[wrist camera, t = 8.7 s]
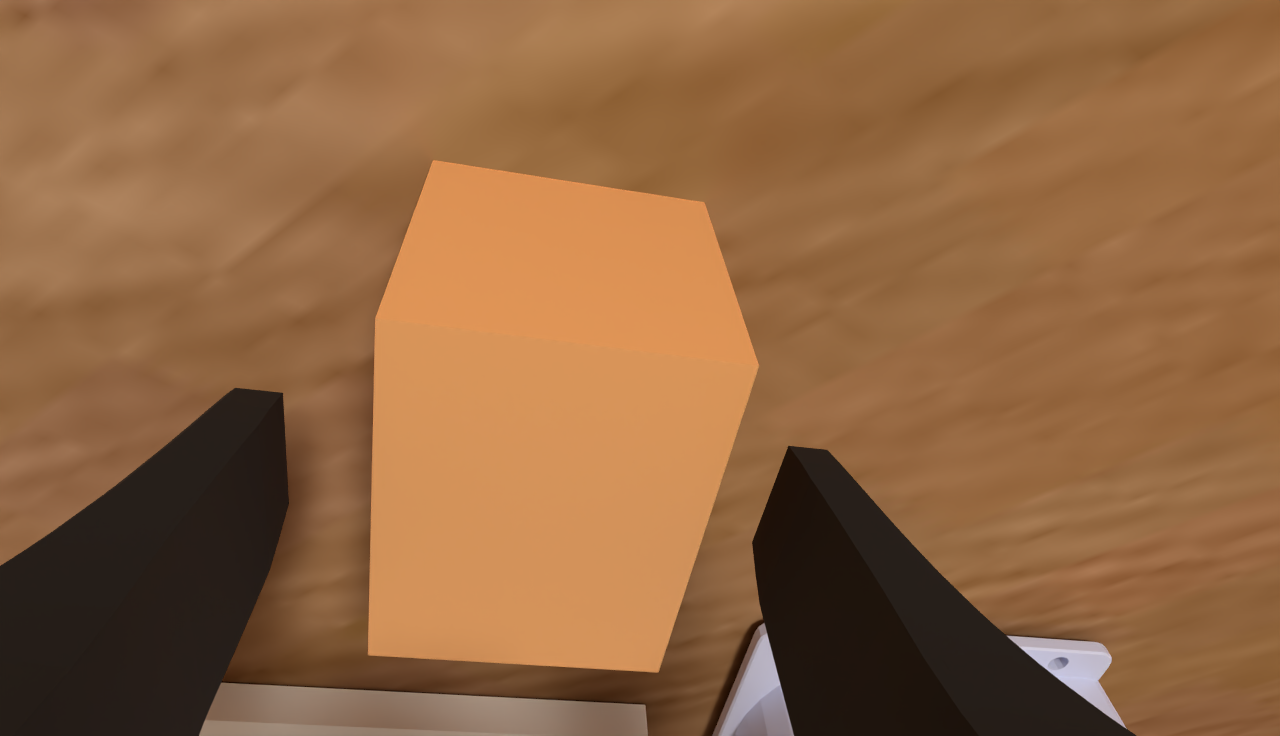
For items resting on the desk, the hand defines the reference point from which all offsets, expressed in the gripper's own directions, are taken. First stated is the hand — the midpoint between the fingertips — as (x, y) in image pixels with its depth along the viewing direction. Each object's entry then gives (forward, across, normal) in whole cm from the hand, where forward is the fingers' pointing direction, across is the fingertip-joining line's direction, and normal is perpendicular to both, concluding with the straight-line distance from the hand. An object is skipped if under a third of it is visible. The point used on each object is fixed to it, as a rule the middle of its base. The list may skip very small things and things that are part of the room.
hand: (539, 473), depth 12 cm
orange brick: (+4, 0, 0) cm, 4 cm away
